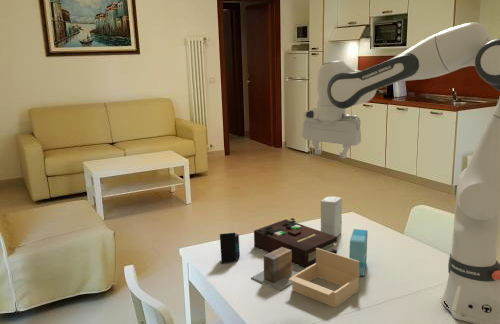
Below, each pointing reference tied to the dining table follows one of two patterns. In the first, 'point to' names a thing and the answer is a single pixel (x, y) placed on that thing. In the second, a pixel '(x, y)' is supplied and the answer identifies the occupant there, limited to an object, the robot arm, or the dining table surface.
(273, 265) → the box
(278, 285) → the mat
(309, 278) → the drawer
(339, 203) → the skincare box
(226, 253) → the speaker
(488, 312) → the robot arm
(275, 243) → the decorative book
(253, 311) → the dining table surface
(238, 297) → the dining table surface
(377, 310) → the dining table surface
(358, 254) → the blue rounded block
